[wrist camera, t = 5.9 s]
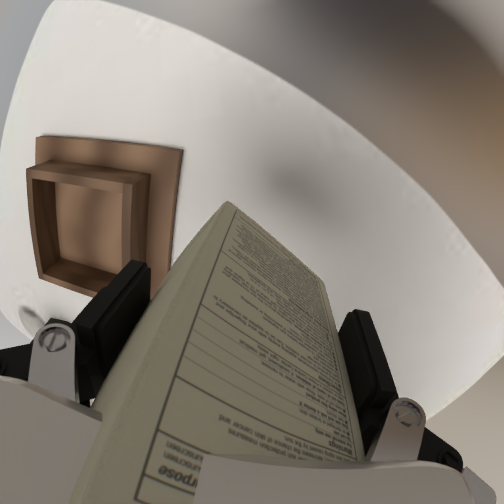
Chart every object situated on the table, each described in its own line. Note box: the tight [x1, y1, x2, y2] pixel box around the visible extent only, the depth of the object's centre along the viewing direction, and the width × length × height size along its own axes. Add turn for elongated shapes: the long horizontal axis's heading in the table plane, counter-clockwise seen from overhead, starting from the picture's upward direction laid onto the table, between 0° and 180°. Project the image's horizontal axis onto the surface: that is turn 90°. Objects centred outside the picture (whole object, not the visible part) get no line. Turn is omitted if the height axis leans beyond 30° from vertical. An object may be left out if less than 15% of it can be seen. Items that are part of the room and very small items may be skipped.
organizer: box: [26, 136, 183, 301], centre depth 24 cm, size 16×16×4 cm
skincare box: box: [68, 201, 365, 504], centre depth 8 cm, size 6×4×12 cm
